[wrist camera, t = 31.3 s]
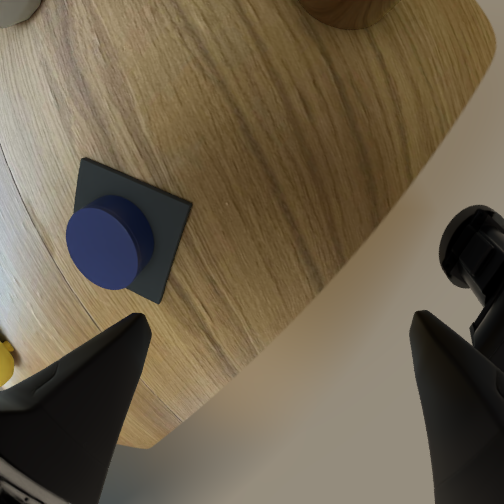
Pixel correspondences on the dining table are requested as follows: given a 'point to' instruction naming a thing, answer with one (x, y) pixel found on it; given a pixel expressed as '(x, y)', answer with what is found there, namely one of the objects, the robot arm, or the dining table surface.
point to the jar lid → (110, 241)
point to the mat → (154, 209)
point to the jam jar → (348, 12)
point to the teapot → (6, 362)
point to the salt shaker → (16, 11)
